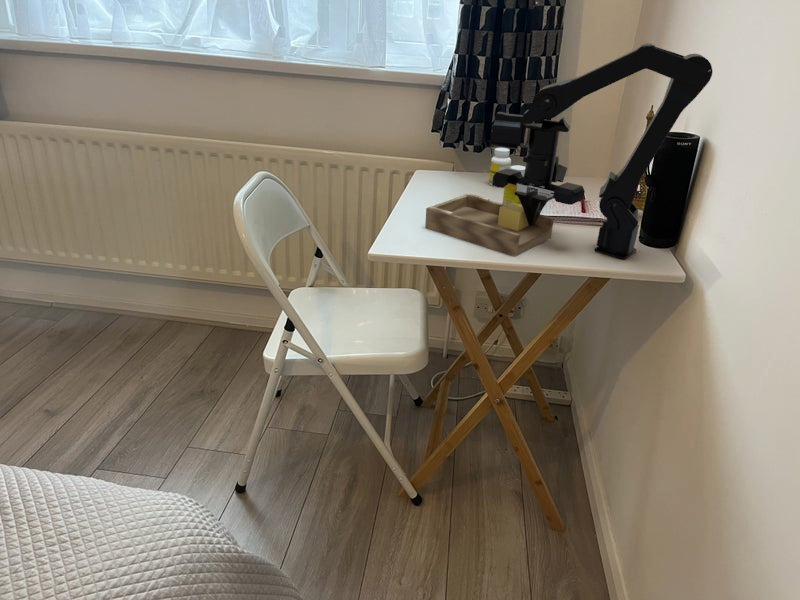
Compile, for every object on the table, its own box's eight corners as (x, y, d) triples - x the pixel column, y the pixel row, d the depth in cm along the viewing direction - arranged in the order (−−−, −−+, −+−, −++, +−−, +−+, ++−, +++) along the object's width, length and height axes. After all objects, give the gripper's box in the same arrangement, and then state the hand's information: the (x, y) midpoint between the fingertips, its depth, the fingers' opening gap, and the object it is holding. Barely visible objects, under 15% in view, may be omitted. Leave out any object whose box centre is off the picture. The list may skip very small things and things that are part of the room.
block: (529, 225, 132) (532, 207, 130) (517, 230, 129) (519, 212, 127) (509, 219, 135) (512, 202, 133) (497, 224, 132) (499, 207, 130)
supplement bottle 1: (486, 182, 169) (489, 146, 165) (504, 181, 170) (508, 146, 165) (492, 187, 164) (495, 151, 160) (511, 187, 165) (515, 151, 161)
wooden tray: (550, 237, 131) (554, 216, 129) (514, 256, 121) (517, 233, 119) (464, 212, 145) (466, 192, 142) (425, 227, 134) (426, 206, 132)
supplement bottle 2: (517, 213, 145) (522, 171, 141) (497, 208, 149) (502, 167, 144) (529, 208, 149) (534, 167, 144) (510, 203, 152) (514, 163, 148)
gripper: (602, 154, 122) (588, 227, 129) (522, 138, 133) (513, 206, 140) (577, 163, 114) (564, 240, 122) (494, 145, 125) (486, 217, 132)
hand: (531, 225), depth 129 cm, fingers closed
